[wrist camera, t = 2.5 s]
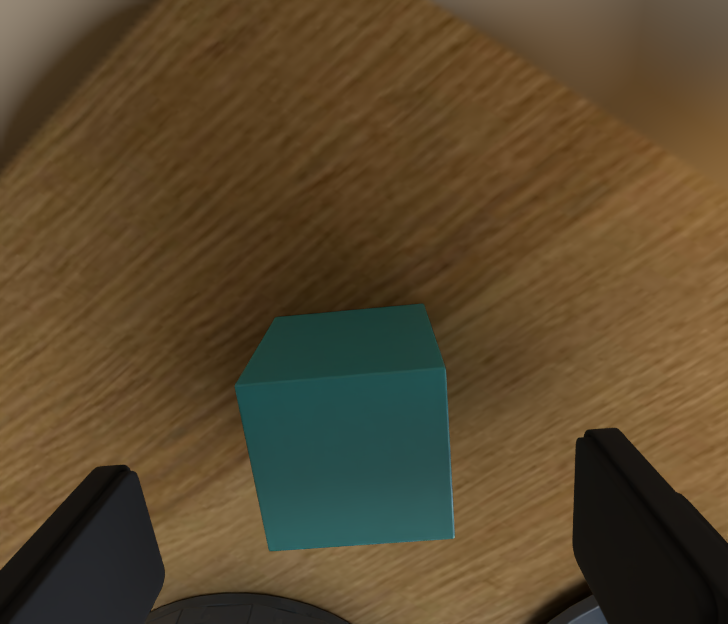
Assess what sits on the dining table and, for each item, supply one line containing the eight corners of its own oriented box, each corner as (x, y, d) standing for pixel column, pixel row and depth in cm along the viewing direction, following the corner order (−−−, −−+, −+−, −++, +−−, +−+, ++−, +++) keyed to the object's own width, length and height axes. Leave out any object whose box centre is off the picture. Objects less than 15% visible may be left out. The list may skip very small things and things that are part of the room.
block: (274, 316, 14) (233, 385, 10) (423, 302, 14) (446, 367, 10) (296, 444, 16) (268, 552, 11) (432, 433, 16) (455, 539, 11)
